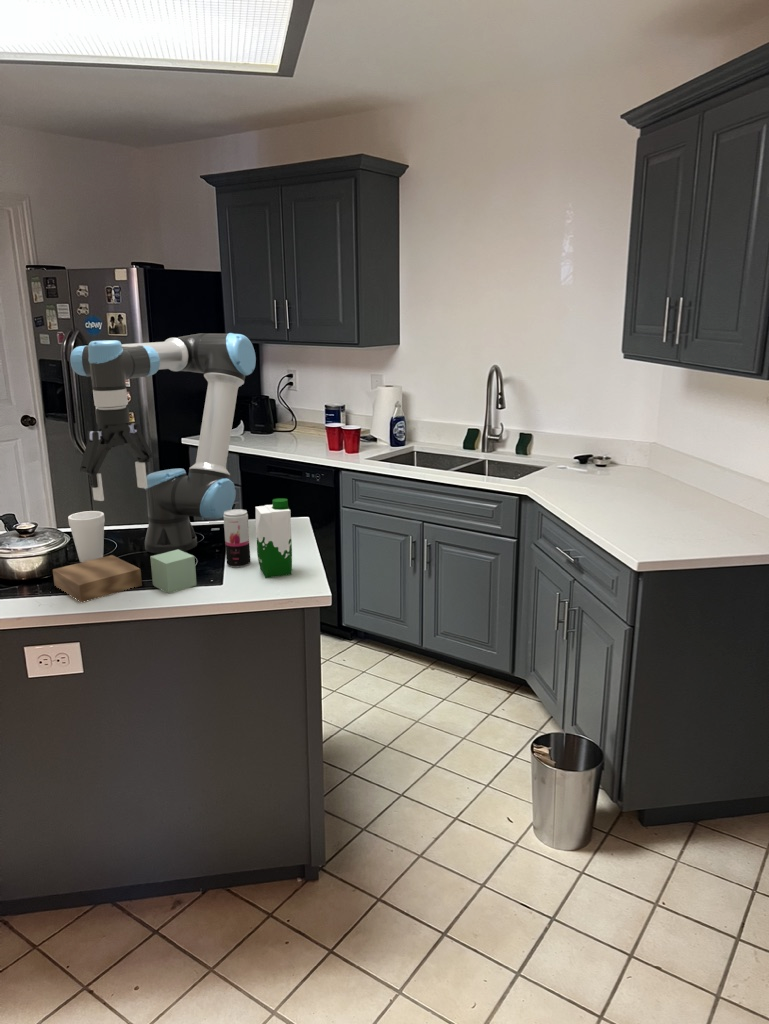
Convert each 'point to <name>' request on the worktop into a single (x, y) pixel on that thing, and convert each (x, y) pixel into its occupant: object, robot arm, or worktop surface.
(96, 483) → the robot arm
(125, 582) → the walnut block
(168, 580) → the sage cube
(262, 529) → the milk carton
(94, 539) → the foam cup
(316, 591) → the worktop surface
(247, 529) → the beverage can
